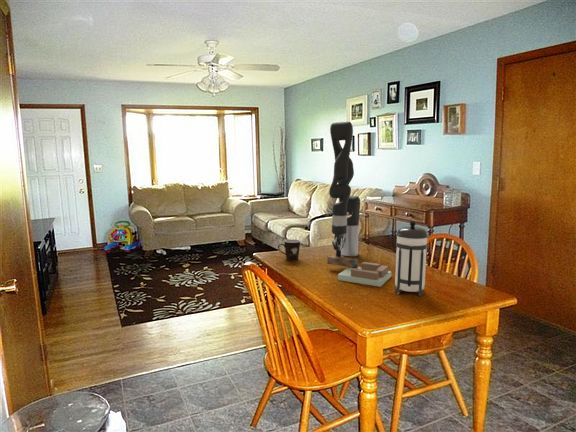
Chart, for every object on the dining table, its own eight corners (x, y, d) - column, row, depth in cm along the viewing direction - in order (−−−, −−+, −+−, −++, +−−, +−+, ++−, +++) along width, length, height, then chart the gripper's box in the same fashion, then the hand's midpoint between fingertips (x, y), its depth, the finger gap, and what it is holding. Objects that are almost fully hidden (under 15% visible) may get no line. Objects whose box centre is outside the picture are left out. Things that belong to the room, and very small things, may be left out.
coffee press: (382, 288, 187) (384, 219, 182) (412, 284, 193) (415, 217, 188) (408, 301, 171) (411, 226, 167) (439, 296, 178) (444, 224, 173)
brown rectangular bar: (358, 266, 211) (358, 259, 210) (356, 268, 208) (356, 260, 207) (329, 262, 218) (330, 255, 217) (327, 263, 215) (327, 257, 214)
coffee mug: (300, 257, 239) (300, 239, 237) (299, 261, 230) (299, 242, 229) (279, 256, 240) (279, 238, 238) (277, 260, 232) (277, 242, 230)
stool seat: (350, 270, 213) (351, 259, 213) (391, 276, 204) (391, 265, 203) (337, 279, 199) (338, 268, 198) (380, 286, 189) (381, 274, 188)
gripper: (337, 221, 226) (336, 253, 228) (327, 225, 214) (326, 259, 217) (351, 222, 222) (350, 255, 225) (341, 226, 211) (340, 261, 213)
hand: (338, 257), depth 221 cm, fingers closed
